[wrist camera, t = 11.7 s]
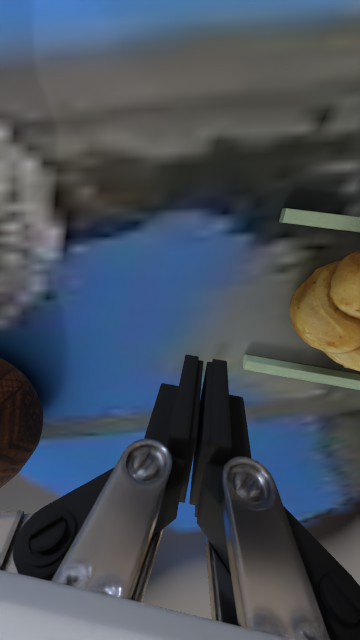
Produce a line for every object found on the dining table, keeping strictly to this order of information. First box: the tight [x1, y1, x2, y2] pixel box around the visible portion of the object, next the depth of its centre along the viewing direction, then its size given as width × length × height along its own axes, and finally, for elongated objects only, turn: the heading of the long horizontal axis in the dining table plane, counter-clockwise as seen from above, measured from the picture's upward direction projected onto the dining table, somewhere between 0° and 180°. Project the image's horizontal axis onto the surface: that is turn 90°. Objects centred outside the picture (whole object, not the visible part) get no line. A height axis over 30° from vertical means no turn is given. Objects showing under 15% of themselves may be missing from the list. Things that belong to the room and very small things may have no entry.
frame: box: [242, 208, 360, 390], centre depth 26 cm, size 17×17×2 cm
